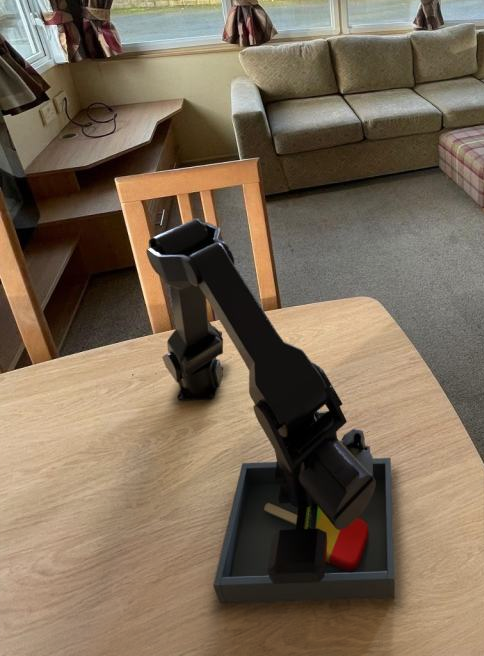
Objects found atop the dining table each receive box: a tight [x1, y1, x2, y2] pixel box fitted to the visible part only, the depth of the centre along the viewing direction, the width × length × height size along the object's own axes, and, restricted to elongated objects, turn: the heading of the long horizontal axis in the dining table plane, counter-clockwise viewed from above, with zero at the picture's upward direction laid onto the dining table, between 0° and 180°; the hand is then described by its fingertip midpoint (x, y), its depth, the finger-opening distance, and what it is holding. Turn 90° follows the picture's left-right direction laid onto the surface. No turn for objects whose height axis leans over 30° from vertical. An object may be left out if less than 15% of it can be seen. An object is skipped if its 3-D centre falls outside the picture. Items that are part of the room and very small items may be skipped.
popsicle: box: [264, 503, 369, 572], centre depth 65 cm, size 6×15×2 cm, turn 70°
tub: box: [213, 457, 396, 605], centre depth 65 cm, size 22×14×5 cm, turn 91°
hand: (312, 523), depth 65 cm, fingers open, 9 cm apart
